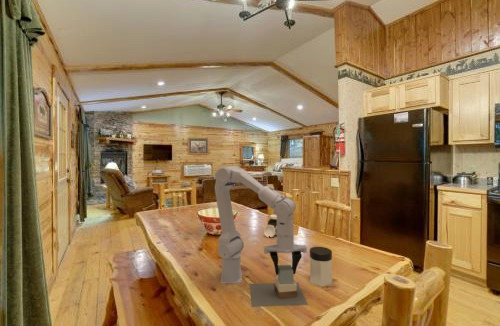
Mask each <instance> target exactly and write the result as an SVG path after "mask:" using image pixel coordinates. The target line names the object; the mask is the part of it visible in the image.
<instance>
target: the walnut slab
mask: <svg viewBox="0 0 500 326" xmlns="http://www.w3.org/2000/svg"><path fill="white" fill-rule="evenodd" d="M274 290H275V292H276V293H277V295H278V297H279V298H280V299H285V298H292V297H297V291H289V292H279V291H278V289H277V287H276V285H275V284H274Z"/></svg>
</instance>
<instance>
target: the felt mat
mask: <svg viewBox="0 0 500 326" xmlns="http://www.w3.org/2000/svg"><path fill="white" fill-rule="evenodd" d="M295 283H296V284H297V297H292V298H285V299H280V298H279V297H278V295H277V293H276V292H275V290H274V284H275V282H273V283H272V282H270V283H267V282H265V283H250V284H249V288H250V290H249V291H250V305H251V307H257V308H258V307H281V306H284V307H285V306H287V307H288V306H309V304H308V301H307V299H306V297H305V295H304V293H303V291H302V289H301V286H300V283H299V282H296V281H295Z"/></svg>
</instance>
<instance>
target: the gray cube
mask: <svg viewBox="0 0 500 326" xmlns="http://www.w3.org/2000/svg"><path fill="white" fill-rule="evenodd" d="M277 277H278V280H279V283H280V284H293V280H294V274H293V269H292V264H278V275H277Z"/></svg>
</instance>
